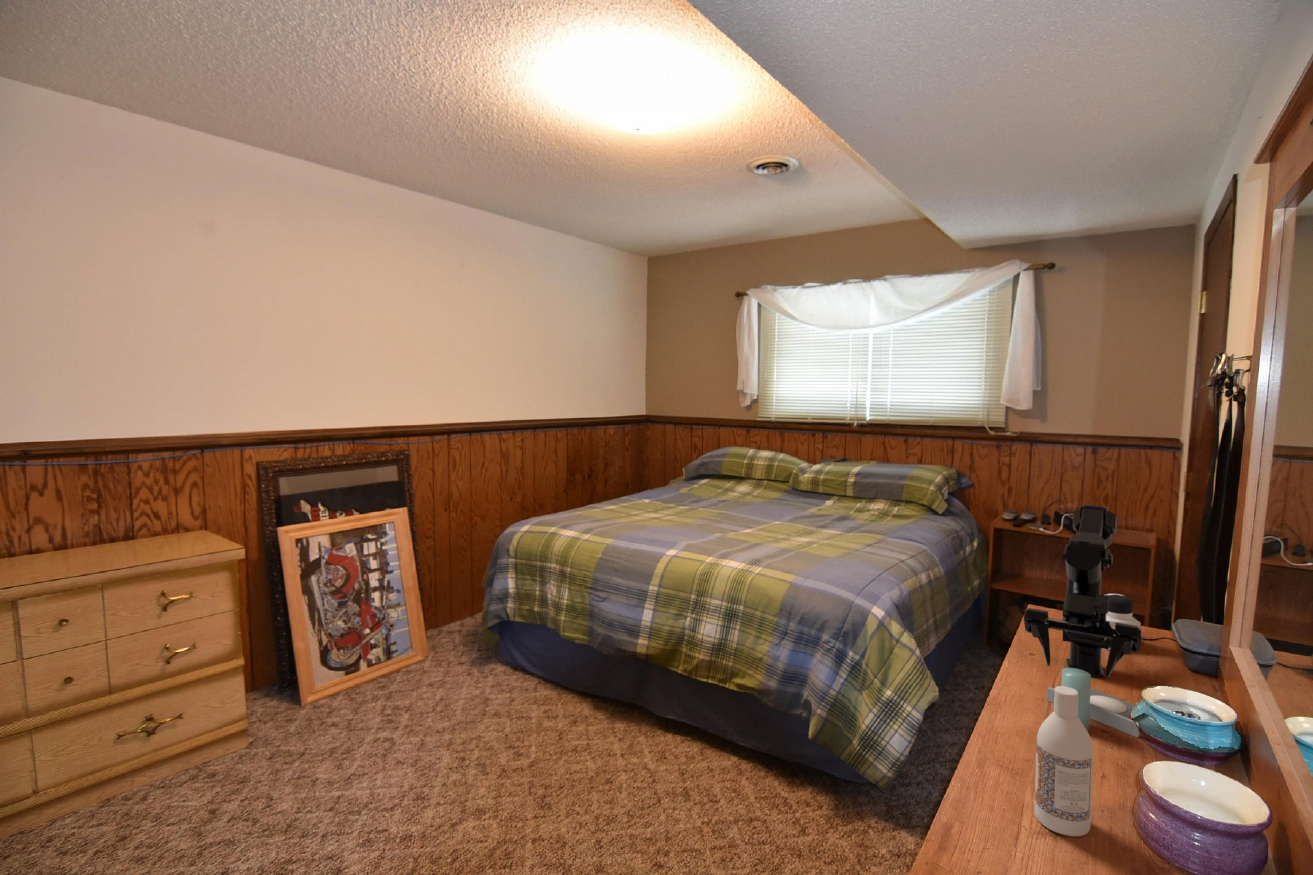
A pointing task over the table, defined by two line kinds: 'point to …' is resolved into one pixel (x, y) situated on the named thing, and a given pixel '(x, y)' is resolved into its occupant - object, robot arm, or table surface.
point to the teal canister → (1079, 691)
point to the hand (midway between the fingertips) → (1077, 670)
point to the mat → (1111, 703)
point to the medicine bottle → (1120, 611)
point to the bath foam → (1064, 768)
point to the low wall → (1105, 717)
